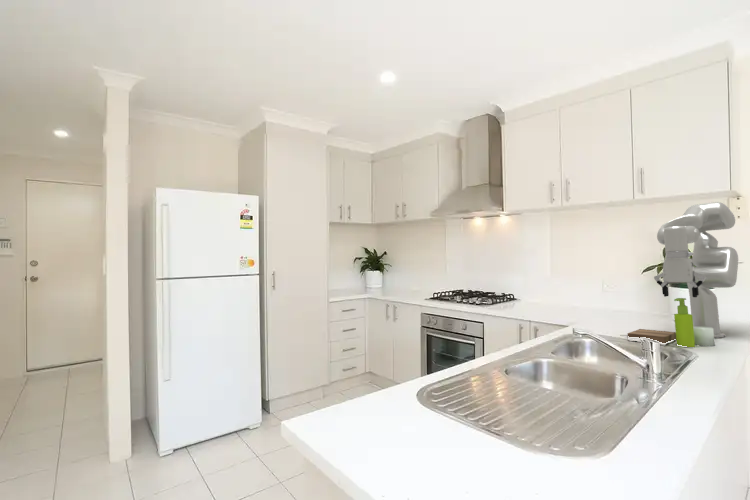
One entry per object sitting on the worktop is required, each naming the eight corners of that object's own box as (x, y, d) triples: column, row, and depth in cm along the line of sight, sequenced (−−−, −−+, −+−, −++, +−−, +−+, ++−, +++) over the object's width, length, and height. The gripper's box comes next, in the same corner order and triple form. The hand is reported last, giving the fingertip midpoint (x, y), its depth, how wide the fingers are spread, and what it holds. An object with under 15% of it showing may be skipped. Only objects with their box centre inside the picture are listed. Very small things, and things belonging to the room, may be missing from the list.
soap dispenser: (672, 346, 157) (668, 298, 158) (681, 344, 160) (677, 297, 161) (688, 348, 152) (684, 299, 153) (698, 346, 155) (693, 297, 156)
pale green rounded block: (695, 342, 162) (694, 325, 163) (716, 344, 157) (715, 327, 157) (690, 344, 158) (688, 328, 159) (712, 347, 153) (710, 329, 153)
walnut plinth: (640, 336, 179) (639, 328, 179) (676, 340, 167) (676, 332, 168) (628, 341, 171) (627, 333, 171) (665, 345, 159) (664, 337, 159)
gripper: (706, 254, 153) (710, 296, 152) (656, 256, 167) (659, 295, 166) (700, 254, 148) (704, 298, 147) (649, 256, 162) (652, 296, 162)
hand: (680, 296), depth 157 cm, fingers open, 9 cm apart
